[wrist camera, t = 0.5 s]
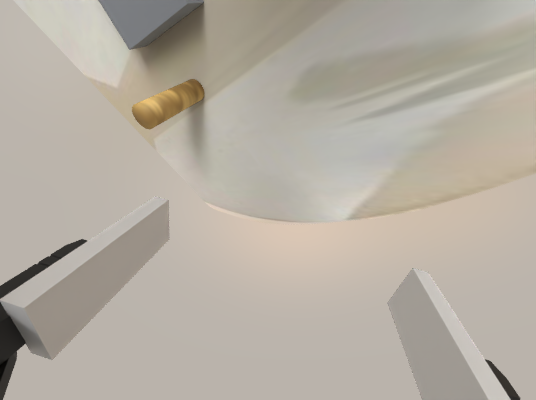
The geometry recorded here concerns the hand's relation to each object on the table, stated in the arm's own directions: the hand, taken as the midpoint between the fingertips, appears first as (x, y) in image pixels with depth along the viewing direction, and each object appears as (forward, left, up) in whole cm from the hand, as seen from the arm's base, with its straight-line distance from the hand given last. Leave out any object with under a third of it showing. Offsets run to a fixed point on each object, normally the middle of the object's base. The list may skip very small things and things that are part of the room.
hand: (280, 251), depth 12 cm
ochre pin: (-8, -29, -32) cm, 43 cm away
